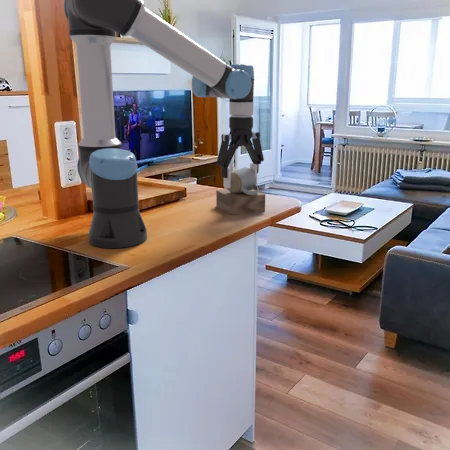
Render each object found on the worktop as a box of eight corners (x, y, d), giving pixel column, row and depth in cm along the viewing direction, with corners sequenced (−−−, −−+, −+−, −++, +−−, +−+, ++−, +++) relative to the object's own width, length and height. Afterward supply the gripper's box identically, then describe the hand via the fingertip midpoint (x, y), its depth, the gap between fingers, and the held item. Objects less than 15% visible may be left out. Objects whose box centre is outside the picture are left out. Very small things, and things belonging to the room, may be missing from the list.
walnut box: (231, 216, 151) (231, 198, 149) (216, 207, 162) (216, 190, 160) (264, 212, 156) (265, 194, 154) (248, 203, 166) (248, 187, 165)
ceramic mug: (223, 192, 156) (223, 169, 154) (238, 188, 162) (239, 165, 160) (248, 198, 150) (249, 173, 148) (264, 193, 156) (265, 170, 154)
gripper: (261, 113, 159) (259, 179, 166) (204, 116, 146) (205, 187, 153) (276, 115, 153) (274, 183, 160) (218, 118, 140) (218, 192, 147)
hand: (240, 185), depth 156 cm, fingers open, 10 cm apart
